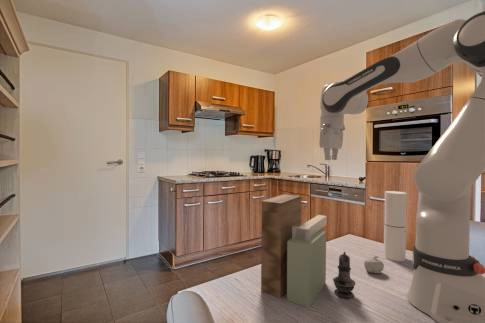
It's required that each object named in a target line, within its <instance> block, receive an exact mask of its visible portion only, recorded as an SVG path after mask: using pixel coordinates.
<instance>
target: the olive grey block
mask: <svg viewBox="0 0 485 323" xmlns="http://www.w3.org/2000/svg"><path fill="white" fill-rule="evenodd" d="M326 266H327V231H325V230H321V229H320V230H319V231H317V232H316V233H315V234H313V235H312V236H311V237H310V241H304V240H299V239H294V238H291V239H290V240H288V241H287V291H286V301H287V302H288V301H289V302H291V303H295V304H297V305H300V306H303V307H306V308H310V306H311V305H312V303H313V302H314V301H315V299H316V298H317V296H318V295H319V293H320V292H321V291H322V290H323V288H324V286H325V285H326V281H327V278H326V276H327V269H326V268H327V267H326Z"/></svg>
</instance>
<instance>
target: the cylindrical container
mask: <svg viewBox="0 0 485 323" xmlns="http://www.w3.org/2000/svg"><path fill="white" fill-rule="evenodd" d="M407 195H408V193H407V192H405V191H398V190H385V191H384V223H383V225H384V228H383V229H384V230H383V257H384V258H385V259H387V260H390V261H394V262H405V261H406V253H407V252H406V251H407V250H406V248H407V246H406V245H407V244H406V243H407V208H408V207H407V204H408V203H407V201H408V200H407V199H408V196H407Z"/></svg>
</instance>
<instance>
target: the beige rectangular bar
mask: <svg viewBox="0 0 485 323" xmlns="http://www.w3.org/2000/svg"><path fill="white" fill-rule="evenodd" d="M327 220H328V216H327V215H321V214H317V215H316V216H314V217H312V218H311V219H309V220H307V221H306V222H304V223H303V224H301V226H299V227H297V226H293V227H292V238H294V239H299V240H304V241H310V237H311V236H312V235H313V234H315V233H316V232H317V231H319V230H321V229H323V228H324V227H325V226H327V223H328V222H327Z"/></svg>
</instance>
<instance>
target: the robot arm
mask: <svg viewBox="0 0 485 323" xmlns="http://www.w3.org/2000/svg"><path fill="white" fill-rule="evenodd" d="M459 63H465V64H466V65H467V67H468V68H469V69H470V70H472V71H473V72H474V73H477V75H478V76H480V77H481V80H480V81H479V84H478V85H477V88H475V90H474V91H473V93H472V94H471V95H470V97H469V98H468V100H467V101H466V102H465V104H464V105H463V106H462V107H461V109H460V111H458V113H457V115H456V116H455V117H454V118H453V120H452V121H451V123H450V124H449V126H448V127H447V128H446V130H445V131H444V132H443V133H442V134H441V135H440V137H439V138H438V140H437V141H436V142H435V144H434V145H433V146H432V147H431V148H430V150H429V151H428V153H426V155H425V156H424V157H423V159H422V160H421V162H420V163H419V164H418V166H417V167H416V168H415V171H414V174H413V183H414V185H415V187H416V189H417V191H418V198H417V208H416V215H415V243H414V244H415V245H414V246H413V249H412V267H413V274H412V279H411V284H410V287H409V289H408V292H407V295H406V299H407V300H408V302H409V303H410V305H411V304H412V306H413V307H415V308H417V309H418V310H420V311H421V312H423V313H425V314H427V315H428V316H430V317H431V318H432V319H433V320H434V321H436V322H437V323H485V276H484V275H485V266H484V265H483V264H482V263H481V262H480V261H479V260H478V259H476V257H475V256H471V255H470V235H471V234H470V232H471V231H470V230H471V229H470V228H471V227H470V226H471V188H472V186H473V185H474V184H475V182H476V181H477V180H478V179H479V178H480V176H481V175H482V173H483V172H484V171H485V10H484V11H481V12H478V13H476V14H474V15H473V16H470V17H469V18H468V19H461V18H459V19H455V20H451V21H450V22H448V23H446V24H443V25H442V26H439V27H437V28H436V29H433V30H432V31H430V32H428V33H426V34H425V35H424V36H421V37H420V38H419V39H417V40H415V41H414V42H412V43H411V44H410V45H408V46H406V47H404V48H402V49H400V50H399V51H397V52H396V53H393V54H392V55H389V56H387V57H385V58H383V59H381V60H379V61H377V62H375V63H373V64H371V65H369V66H368V67H366V68H364V69H362V70H361V71H359V72H357V73H355V74H353V75H352V76H350V77H348V78H346V79H344V80H343V81H338V82H337V81H334V82H330V83H327V84H325V85H324V86H323V87H322V90H321V92H320V93H321V94H320V100H319V101H320V105H319V106H320V116H319V121H320V122H319V130H320V133H319V148H320V149H323V154H324V160H325V161H331V160H333V161H337V160H338V154H339V150H340V149H341V150H342V148H343V141H344V131H345V130H346V128H345V124H344V116H345V115H359V114H361V113H363V112H364V111H365V110H366V109H367V107H368V105H369V100H370V98H369V97H370V96H369V94H368V92H367V91H369V90H371V89H372V88H374V87H377V86H379V85H384V84H392V83H393V84H397V83H399V84H400V83H401V84H412V83H416V82H419V81H422V80H425V79H427V78H429V77H432V76H433V75H435V74H437V73H439V72H441V71H443V70H444V69H446V68H448V67H450V66H453V65H454V64H459ZM331 151H332V154H331Z"/></svg>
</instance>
